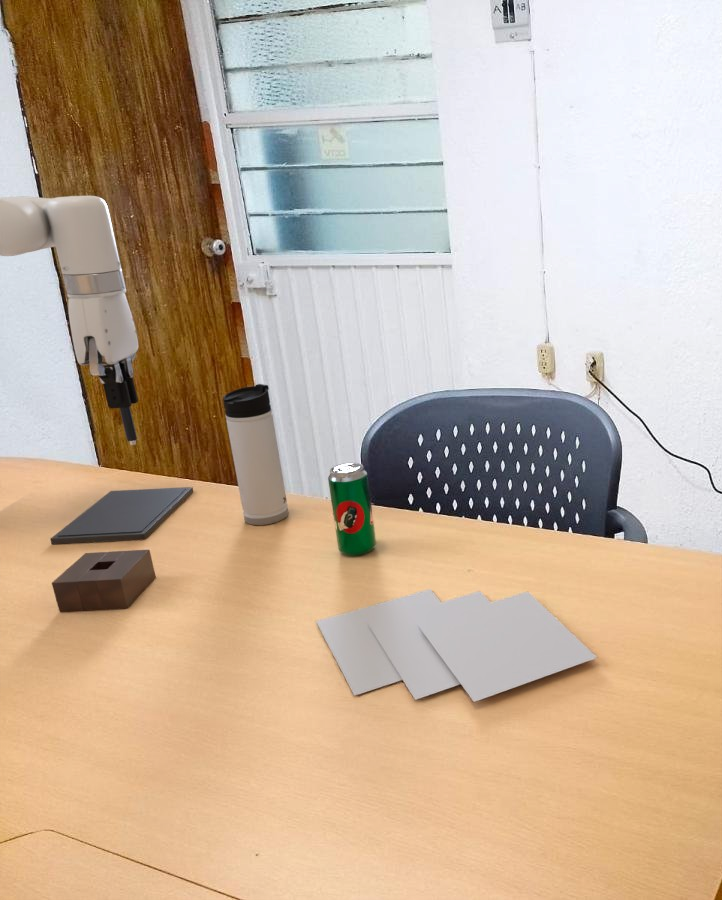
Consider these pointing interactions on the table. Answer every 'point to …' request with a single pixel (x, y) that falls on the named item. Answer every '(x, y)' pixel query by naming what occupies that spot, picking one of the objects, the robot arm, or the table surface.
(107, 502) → the tablet
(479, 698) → the paper stack
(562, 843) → the table surface
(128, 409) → the stylus
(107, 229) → the robot arm
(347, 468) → the soda can
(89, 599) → the holder
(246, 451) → the travel mug
